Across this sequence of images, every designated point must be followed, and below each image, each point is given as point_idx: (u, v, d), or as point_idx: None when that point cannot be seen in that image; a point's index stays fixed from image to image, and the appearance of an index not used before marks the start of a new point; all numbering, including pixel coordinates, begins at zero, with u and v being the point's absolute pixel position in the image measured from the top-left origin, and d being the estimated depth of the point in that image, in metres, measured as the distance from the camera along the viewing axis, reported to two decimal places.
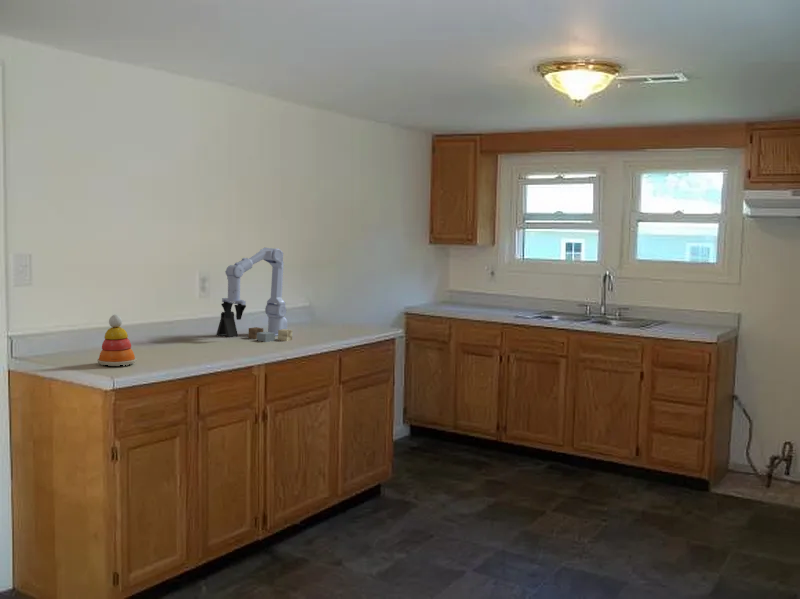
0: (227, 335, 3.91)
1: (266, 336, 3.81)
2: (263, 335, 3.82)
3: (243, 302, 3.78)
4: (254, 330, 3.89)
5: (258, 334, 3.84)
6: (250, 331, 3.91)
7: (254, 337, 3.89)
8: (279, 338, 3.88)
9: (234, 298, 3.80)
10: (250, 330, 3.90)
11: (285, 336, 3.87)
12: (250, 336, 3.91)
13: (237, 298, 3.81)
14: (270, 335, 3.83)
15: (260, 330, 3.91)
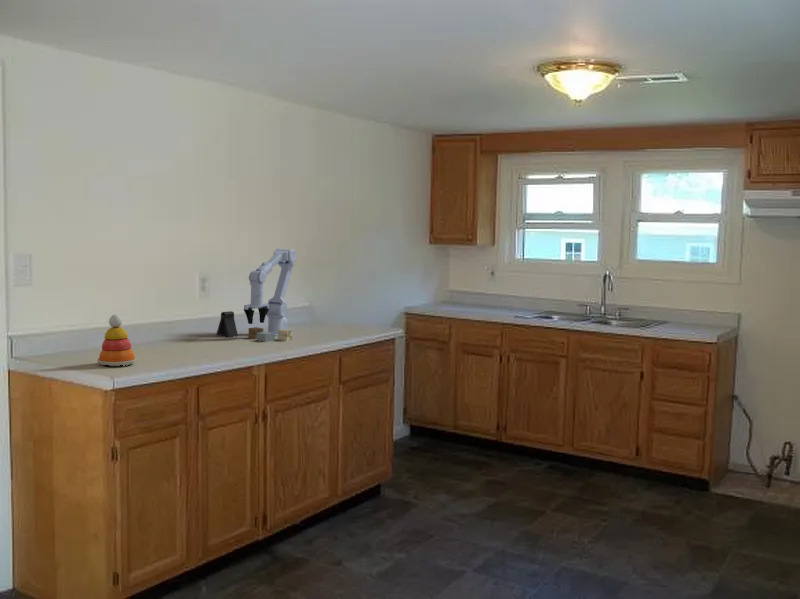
0: (227, 335, 3.91)
1: (266, 336, 3.81)
2: (263, 335, 3.82)
3: (244, 306, 3.85)
4: (254, 330, 3.89)
5: (258, 334, 3.84)
6: (250, 331, 3.91)
7: (254, 337, 3.89)
8: (279, 338, 3.88)
9: None
10: (250, 330, 3.91)
11: (285, 336, 3.87)
12: (250, 336, 3.91)
13: (252, 303, 3.88)
14: (270, 335, 3.83)
15: (260, 330, 3.91)
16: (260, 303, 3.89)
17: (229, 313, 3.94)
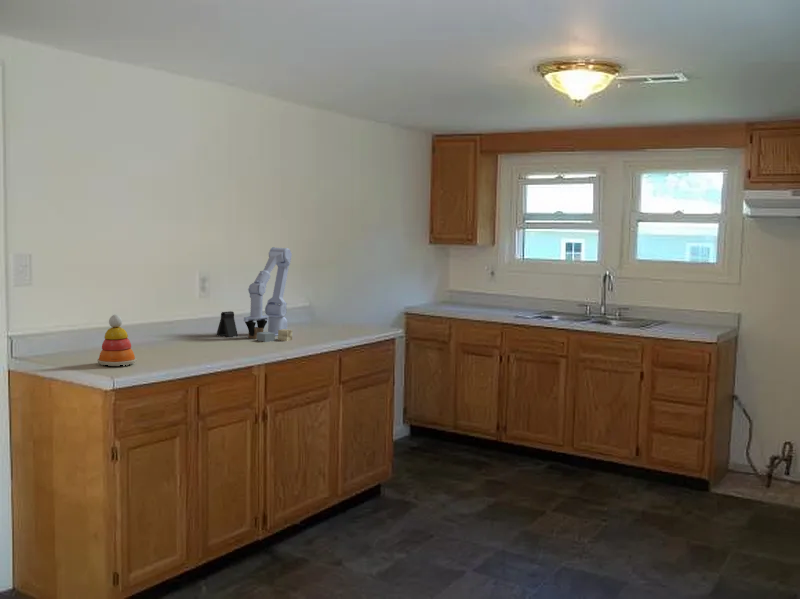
0: (227, 335, 3.91)
1: (266, 336, 3.81)
2: (263, 335, 3.82)
3: (244, 319, 3.86)
4: (254, 330, 3.89)
5: (258, 334, 3.84)
6: None
7: (254, 337, 3.89)
8: (279, 338, 3.88)
9: (250, 314, 3.90)
10: None
11: (285, 336, 3.87)
12: (250, 336, 3.91)
13: (251, 315, 3.89)
14: (270, 335, 3.83)
15: (260, 330, 3.91)
16: (260, 315, 3.89)
17: (229, 313, 3.94)
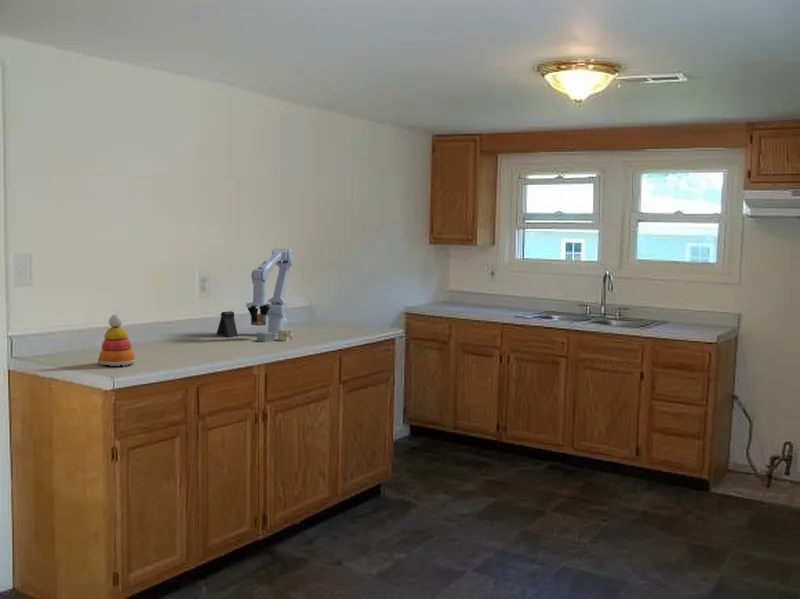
0: (227, 335, 3.91)
1: (266, 336, 3.81)
2: (263, 335, 3.82)
3: (247, 304, 3.83)
4: (257, 316, 3.86)
5: (258, 334, 3.84)
6: None
7: (256, 323, 3.87)
8: (279, 338, 3.88)
9: (253, 300, 3.88)
10: None
11: (285, 336, 3.87)
12: (252, 322, 3.88)
13: (254, 301, 3.87)
14: (270, 335, 3.83)
15: (263, 316, 3.88)
16: (262, 301, 3.87)
17: (229, 313, 3.94)
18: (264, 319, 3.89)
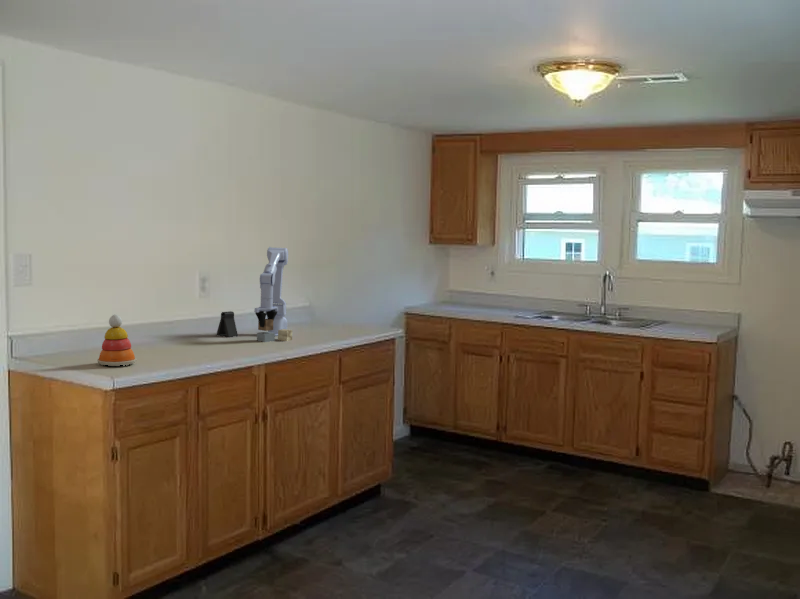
0: (227, 335, 3.91)
1: (265, 336, 3.81)
2: (263, 335, 3.82)
3: (255, 309, 3.78)
4: None
5: (258, 334, 3.84)
6: None
7: (264, 328, 3.82)
8: (279, 338, 3.88)
9: None
10: None
11: (285, 336, 3.87)
12: (260, 327, 3.83)
13: (262, 306, 3.81)
14: (270, 335, 3.83)
15: (270, 321, 3.84)
16: (270, 306, 3.82)
17: (229, 313, 3.94)
18: (272, 324, 3.85)
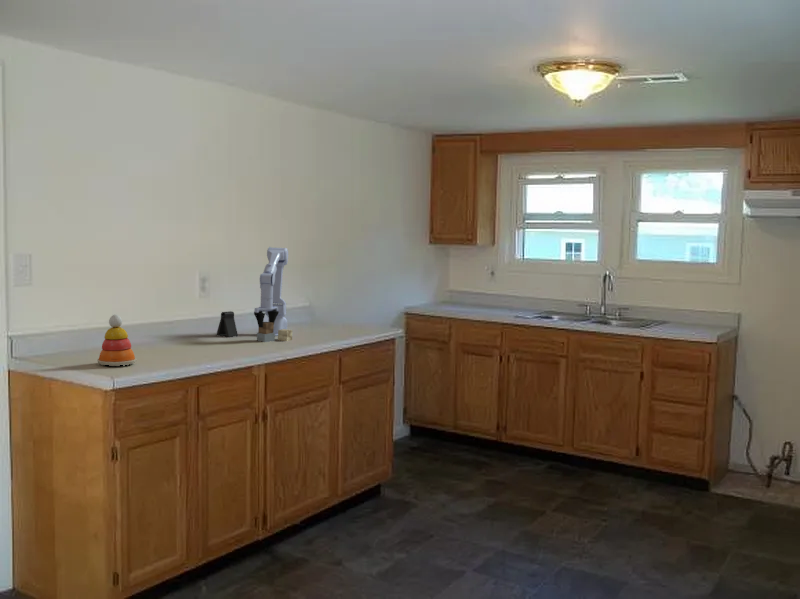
0: (227, 335, 3.91)
1: (265, 336, 3.81)
2: (262, 335, 3.82)
3: (255, 309, 3.78)
4: (265, 324, 3.81)
5: (258, 334, 3.84)
6: None
7: (265, 332, 3.82)
8: (279, 338, 3.88)
9: None
10: None
11: (285, 336, 3.87)
12: (260, 331, 3.83)
13: (262, 306, 3.81)
14: (270, 335, 3.83)
15: (270, 324, 3.84)
16: (270, 306, 3.82)
17: (229, 313, 3.94)
18: (272, 327, 3.85)
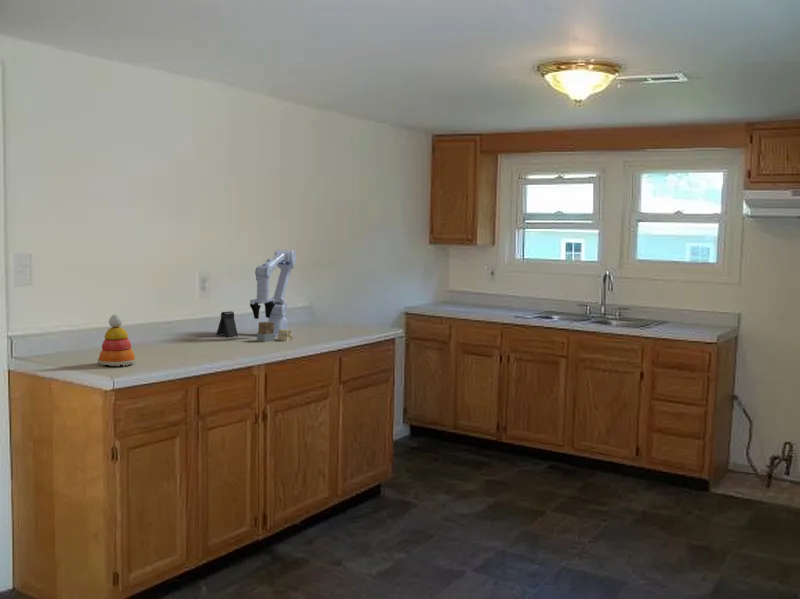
0: (227, 335, 3.91)
1: (265, 336, 3.81)
2: (263, 335, 3.82)
3: (250, 301, 3.85)
4: (265, 324, 3.81)
5: (258, 334, 3.84)
6: (260, 326, 3.83)
7: (265, 332, 3.82)
8: (279, 338, 3.88)
9: None
10: (260, 325, 3.83)
11: (285, 336, 3.87)
12: (260, 331, 3.83)
13: (258, 298, 3.89)
14: (270, 335, 3.83)
15: (270, 324, 3.84)
16: (266, 298, 3.89)
17: (229, 313, 3.94)
18: (272, 327, 3.85)
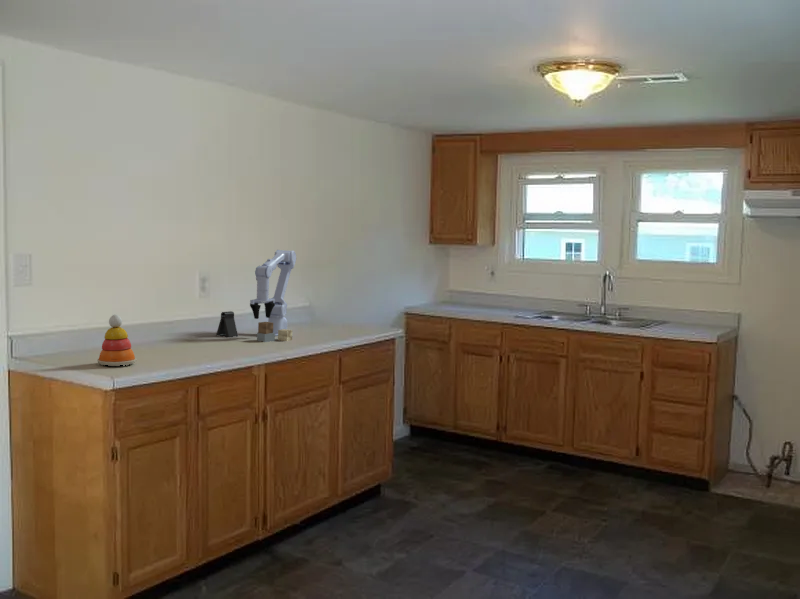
0: (227, 335, 3.91)
1: (265, 336, 3.81)
2: (263, 335, 3.82)
3: (250, 301, 3.85)
4: (264, 324, 3.82)
5: (258, 334, 3.84)
6: (260, 325, 3.83)
7: (265, 331, 3.82)
8: (279, 338, 3.88)
9: None
10: (260, 324, 3.83)
11: (285, 336, 3.87)
12: (260, 331, 3.83)
13: (258, 298, 3.89)
14: (270, 335, 3.83)
15: (270, 324, 3.84)
16: (266, 298, 3.89)
17: (229, 313, 3.94)
18: (272, 327, 3.85)
